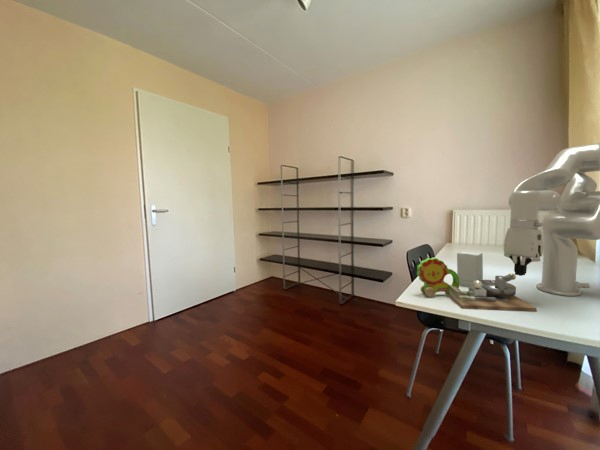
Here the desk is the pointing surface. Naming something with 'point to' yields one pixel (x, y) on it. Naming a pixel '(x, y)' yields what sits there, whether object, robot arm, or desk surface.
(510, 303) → the stand
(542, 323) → the desk surface
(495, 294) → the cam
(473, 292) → the block with glass ball
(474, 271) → the skincare box
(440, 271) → the toy lion
